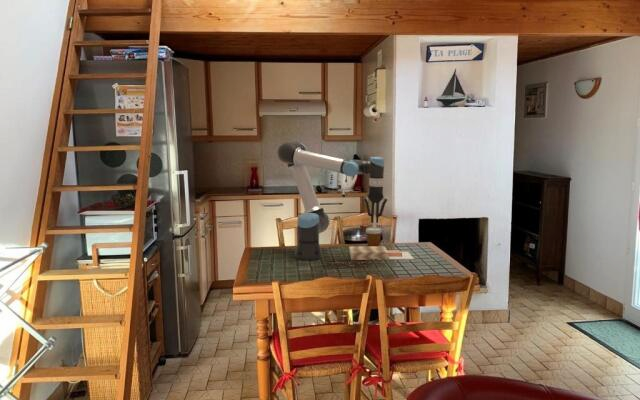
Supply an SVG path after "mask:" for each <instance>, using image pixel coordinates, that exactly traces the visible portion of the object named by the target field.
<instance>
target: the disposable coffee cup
mask: <svg viewBox="0 0 640 400" xmlns="http://www.w3.org/2000/svg"><path fill="white" fill-rule="evenodd" d="M382 232H383V230H382V228H380V227H376V229H373V227H366V230H365V233H366V242H367V246H380V244H381V237H382V236H381V235H382Z"/></svg>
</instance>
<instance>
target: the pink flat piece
mask: <svg viewBox="0 0 640 400" xmlns="http://www.w3.org/2000/svg"><path fill="white" fill-rule="evenodd" d="M387 251H388V252H389V257H402V252H403V251H401V250H399V249H397V250H395V249H393V250H390V249H389V250H388V249H387Z"/></svg>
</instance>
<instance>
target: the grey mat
mask: <svg viewBox="0 0 640 400" xmlns="http://www.w3.org/2000/svg"><path fill="white" fill-rule="evenodd" d="M401 252H402V257H389V260H390V261H412V260H413V261H414V260H415V258H414V257H413V256H412V255H411V253H410V251H401Z"/></svg>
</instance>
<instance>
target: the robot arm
mask: <svg viewBox="0 0 640 400" xmlns="http://www.w3.org/2000/svg"><path fill="white" fill-rule="evenodd" d="M277 158H278V159H279V160H280V162H282V163H284V164H286V165H287V167H288V169H289V170H291V171H292V174H293V177H294V181H295V182H296V186H297V189H298V192H299V196H300V198H301V201H302V205H303V208H304V211H303V213H302V214H300V215H299V216H298V217H297V244H296V248H295V250H294V258H295V259H297V260H301V261H315V260H319V259H322V258H323V251H322V249H321V245H320V234H321V233H324V232H325V231H326V230H327V229H328V228H329V226H330V222H331V221H330V217H329V215H328V214H327V213H326V212H325V210H324V208H323V206H322V205H320V203H319V200H318V197H317V195H316V191H315V188H314V185H313V182H312V179H311V176H310V172H309V170H308V167H312V168H316V169H321V170H325V171H330V172H334V173H339V174H342V175H345V176H347V177H354V176H357V175H369V176H368V177H369V178H368V179H369V180H368V181H369V182H368V185H369V186H368V195H367V196H366V197H364V198H363V201H364V202H365V207H366V212H367V216H368V217H370V223H371V224H372V228H373V229H376V228H377V224H378V223H379V217H382V216H383V212H384V209H385V206H386V203H387V202H388V199H387V198H385V196H384V174H385V172H384V171H385V159H384V157H383V156H382V157H381V156H371V157H370V158H369V160H367V159H366V160H363V159H362V160H361V159H350V160H349V159H348V160H347V159H344V158H341V157H339V158H338V157H336V156H330V155H325V154H321V153H319V152H318V153H316V152H312V151H308V149H307V147H306V145H304V144H303V143H301V142H298V141H289V142H288V141H287V142H286V141H285V142H284V143H281V144H280V145H279V146H278V149H277ZM368 201H370V203H371V206H369V202H368ZM381 201H382V203H381ZM380 203H381V205H380ZM380 206H381V207H380ZM370 208H371V210H370ZM374 215H375V216H374Z"/></svg>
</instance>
